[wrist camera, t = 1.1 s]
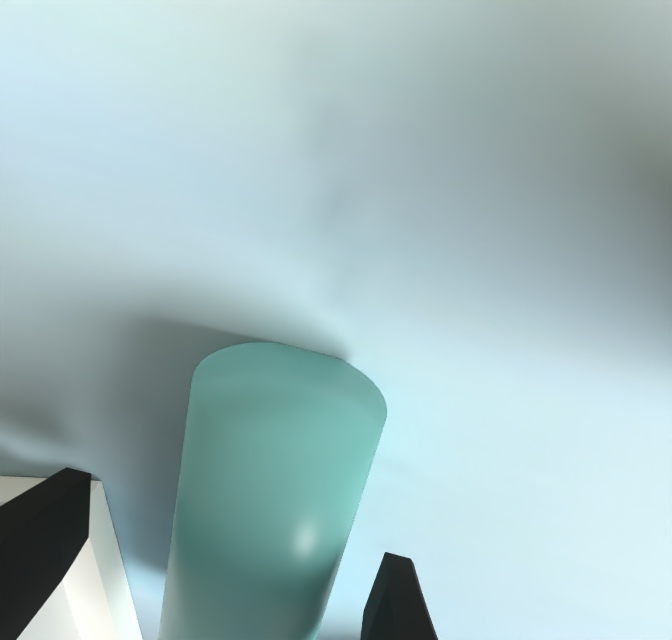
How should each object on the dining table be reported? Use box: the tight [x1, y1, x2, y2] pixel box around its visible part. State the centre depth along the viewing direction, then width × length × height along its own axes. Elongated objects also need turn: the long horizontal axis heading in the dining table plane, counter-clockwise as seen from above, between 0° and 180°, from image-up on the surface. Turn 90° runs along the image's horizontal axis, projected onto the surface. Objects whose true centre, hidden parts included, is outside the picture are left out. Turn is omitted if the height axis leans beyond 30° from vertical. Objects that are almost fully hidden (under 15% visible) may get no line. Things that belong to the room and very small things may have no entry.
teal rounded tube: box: [158, 342, 387, 640], centre depth 11 cm, size 9×4×4 cm, turn 167°
